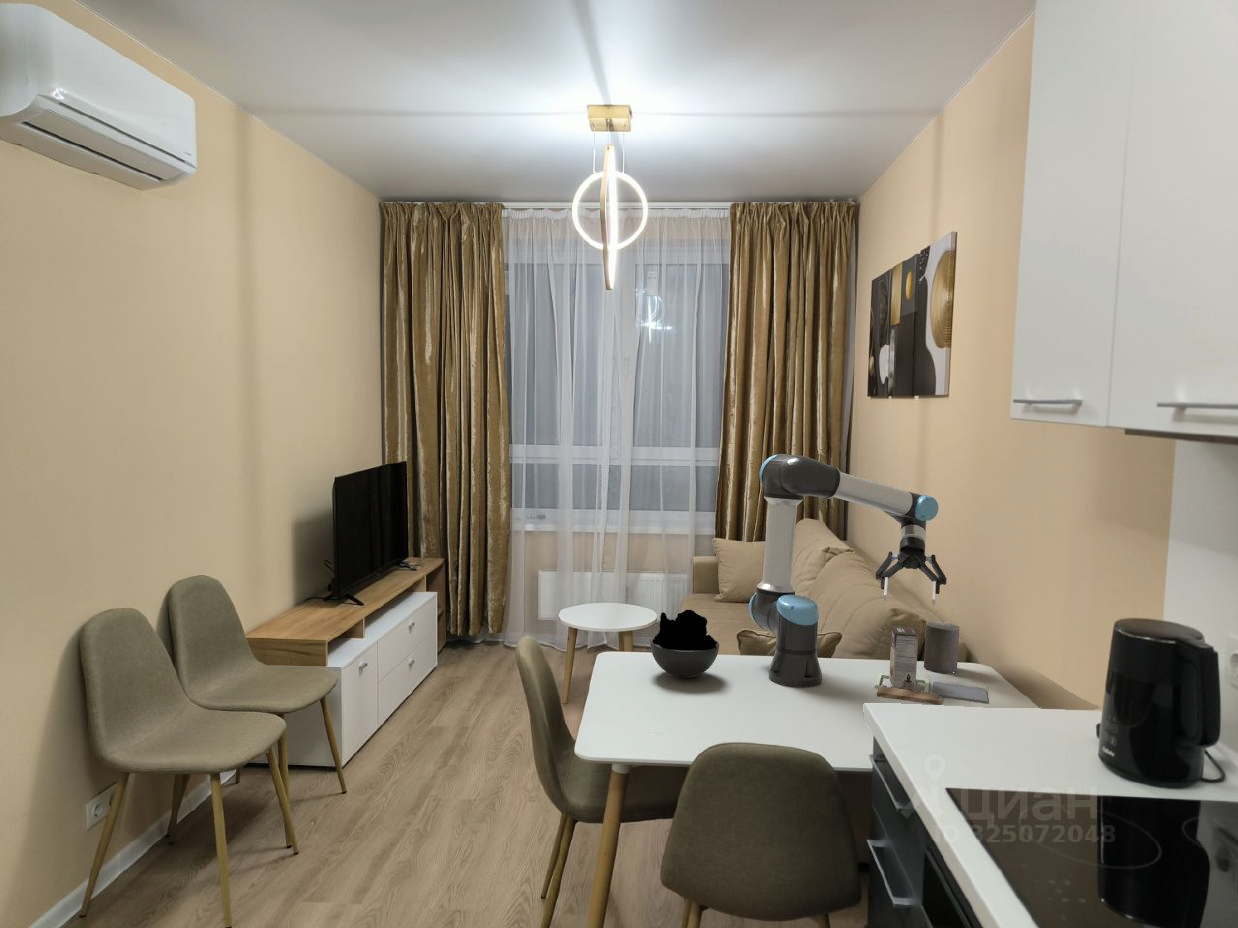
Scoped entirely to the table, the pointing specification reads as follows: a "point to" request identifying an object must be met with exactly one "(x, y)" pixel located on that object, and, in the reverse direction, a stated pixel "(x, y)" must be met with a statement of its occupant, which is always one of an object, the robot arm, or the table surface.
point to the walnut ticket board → (908, 695)
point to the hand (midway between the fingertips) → (909, 599)
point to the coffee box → (903, 657)
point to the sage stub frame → (900, 687)
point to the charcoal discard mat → (960, 692)
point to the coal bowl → (684, 645)
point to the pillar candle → (941, 647)
